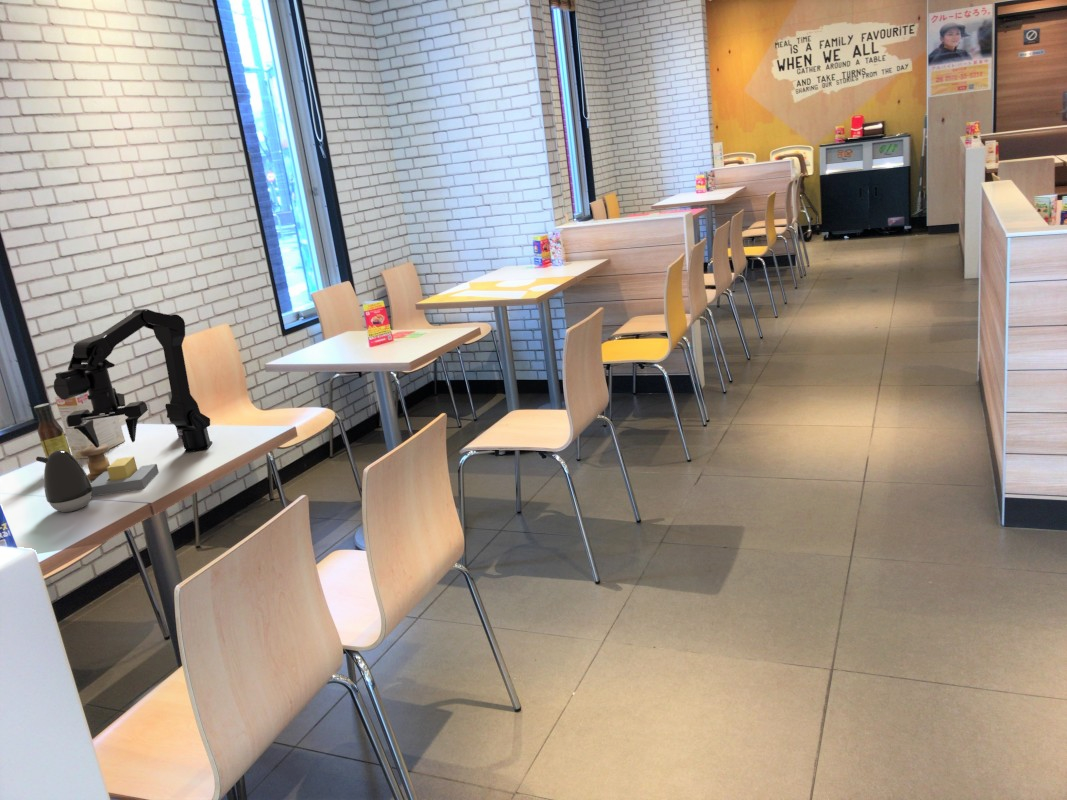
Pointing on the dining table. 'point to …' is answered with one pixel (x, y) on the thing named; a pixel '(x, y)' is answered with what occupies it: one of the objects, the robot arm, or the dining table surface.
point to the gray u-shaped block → (124, 481)
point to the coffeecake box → (104, 427)
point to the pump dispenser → (65, 482)
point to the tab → (122, 468)
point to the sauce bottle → (50, 431)
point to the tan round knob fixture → (96, 460)
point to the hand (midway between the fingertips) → (115, 444)
